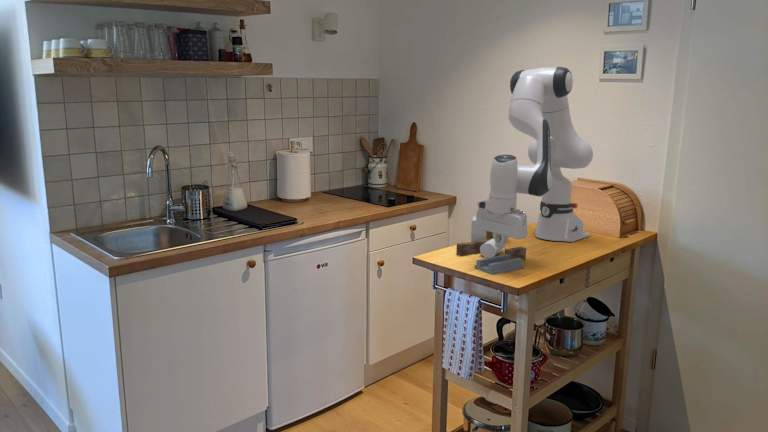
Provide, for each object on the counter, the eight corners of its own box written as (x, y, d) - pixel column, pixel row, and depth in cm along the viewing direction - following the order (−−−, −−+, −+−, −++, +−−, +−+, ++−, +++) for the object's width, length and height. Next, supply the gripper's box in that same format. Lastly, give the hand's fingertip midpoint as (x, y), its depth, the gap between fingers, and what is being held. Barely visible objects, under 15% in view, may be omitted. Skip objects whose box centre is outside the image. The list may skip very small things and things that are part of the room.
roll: (507, 252, 223) (507, 237, 222) (495, 259, 213) (496, 243, 212) (491, 249, 226) (492, 234, 225) (479, 256, 216) (479, 241, 215)
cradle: (505, 262, 210) (505, 253, 209) (523, 268, 203) (524, 259, 202) (474, 268, 202) (475, 259, 201) (492, 274, 195) (493, 265, 194)
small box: (485, 248, 227) (486, 220, 225) (470, 247, 228) (471, 220, 226) (486, 243, 235) (487, 216, 233) (471, 242, 236) (472, 215, 234)
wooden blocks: (491, 248, 228) (491, 238, 227) (525, 259, 214) (526, 247, 213) (456, 254, 218) (456, 243, 217) (490, 266, 204) (490, 254, 204)
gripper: (533, 210, 191) (530, 253, 194) (487, 200, 208) (485, 239, 211) (519, 212, 188) (516, 255, 191) (473, 201, 204) (471, 242, 207)
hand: (499, 247), depth 201 cm, fingers closed
